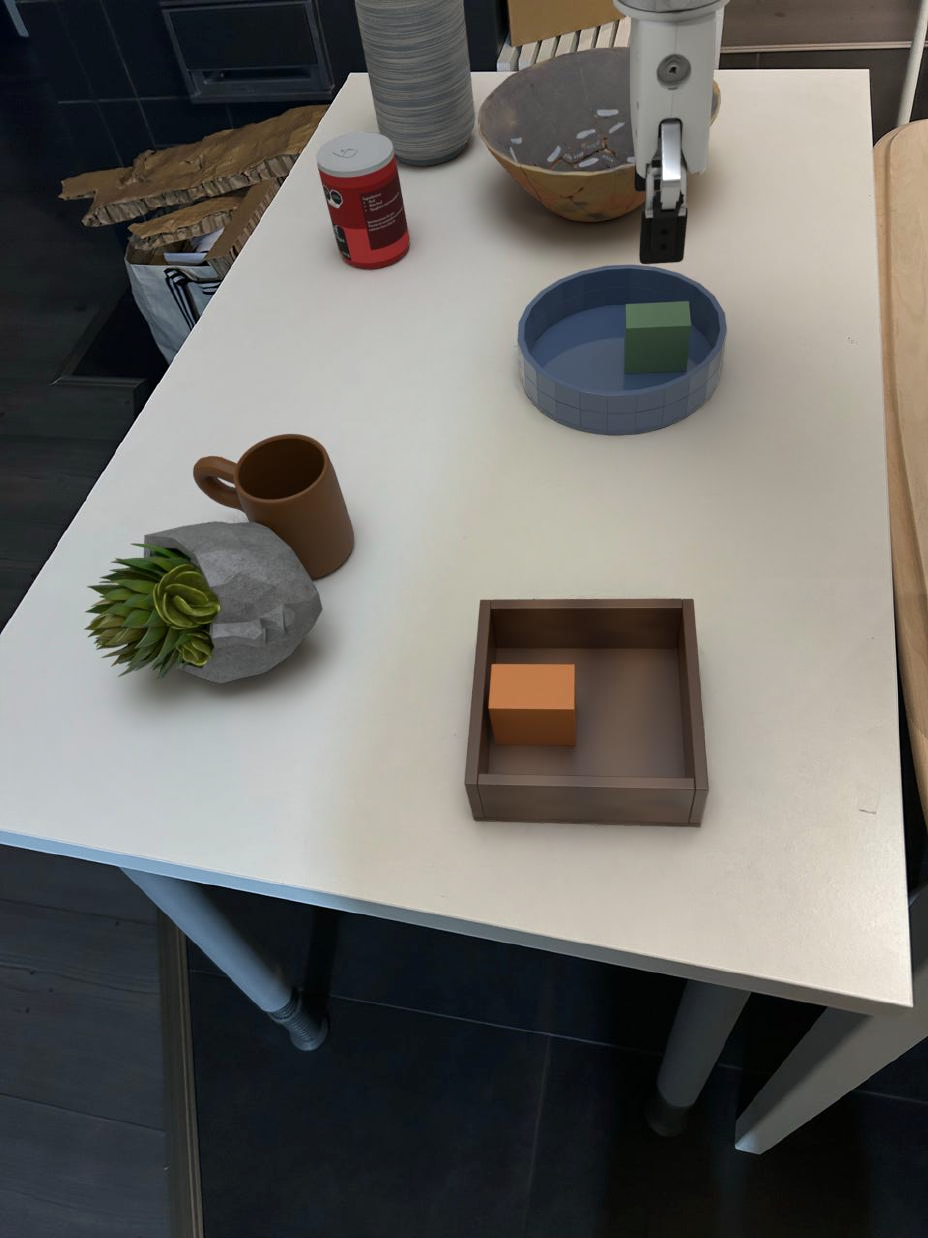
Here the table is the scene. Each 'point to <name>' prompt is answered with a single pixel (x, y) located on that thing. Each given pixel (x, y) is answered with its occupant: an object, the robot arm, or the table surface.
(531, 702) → the packet orange
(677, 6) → the robot arm
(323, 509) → the mug
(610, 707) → the holder
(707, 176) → the table surface
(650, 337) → the packet green
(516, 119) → the bowl
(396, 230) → the canned food
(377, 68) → the vase
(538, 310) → the blue round dish
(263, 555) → the potted plant
